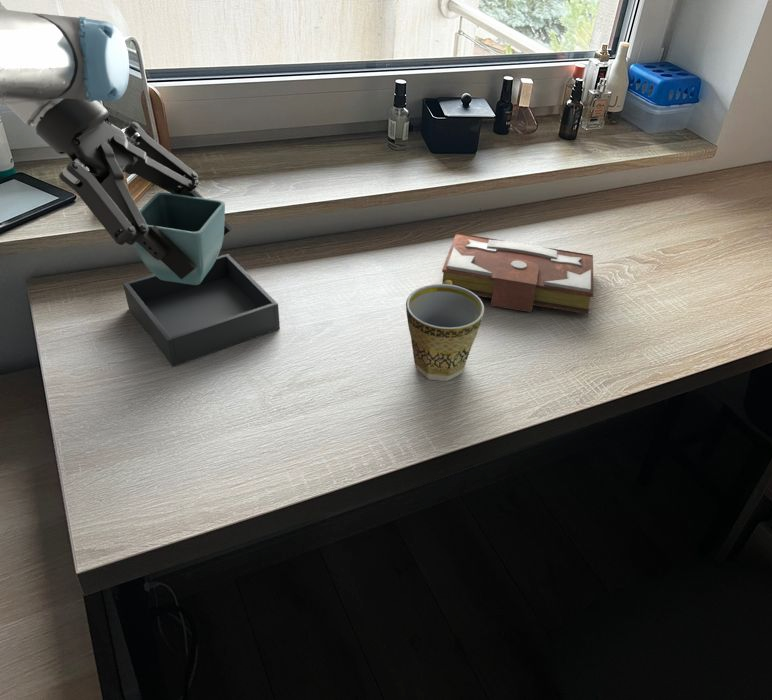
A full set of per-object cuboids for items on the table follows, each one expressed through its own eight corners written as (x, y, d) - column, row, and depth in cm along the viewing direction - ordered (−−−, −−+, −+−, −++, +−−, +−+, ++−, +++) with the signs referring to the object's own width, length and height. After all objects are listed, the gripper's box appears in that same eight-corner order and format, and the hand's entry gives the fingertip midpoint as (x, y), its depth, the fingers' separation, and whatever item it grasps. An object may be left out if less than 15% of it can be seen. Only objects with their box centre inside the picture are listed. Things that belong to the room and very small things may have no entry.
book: (588, 276, 122) (594, 249, 119) (588, 321, 109) (594, 292, 106) (454, 254, 123) (457, 226, 120) (438, 296, 110) (441, 267, 107)
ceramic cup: (474, 393, 94) (483, 332, 88) (398, 385, 94) (401, 324, 88) (478, 334, 105) (485, 275, 98) (409, 326, 104) (412, 268, 98)
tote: (172, 367, 93) (167, 340, 90) (128, 308, 101) (122, 283, 99) (280, 329, 101) (278, 303, 98) (231, 278, 110) (228, 253, 107)
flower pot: (233, 261, 97) (226, 200, 91) (208, 297, 90) (199, 233, 84) (168, 252, 97) (157, 190, 91) (139, 287, 90) (125, 223, 84)
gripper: (8, 122, 72) (182, 284, 80) (127, 60, 89) (260, 200, 97) (-24, 163, 76) (146, 314, 84) (96, 96, 93) (227, 227, 101)
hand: (207, 252), depth 91 cm, fingers closed on flower pot, 9 cm apart
